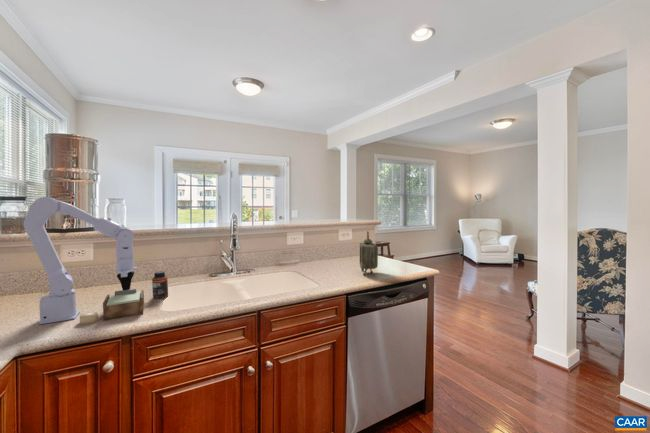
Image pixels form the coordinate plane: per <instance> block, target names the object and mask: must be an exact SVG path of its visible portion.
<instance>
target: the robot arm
mask: <svg viewBox="0 0 650 433" xmlns="http://www.w3.org/2000/svg"><path fill="white" fill-rule="evenodd" d="M57 212H58V213H57ZM56 213H57V215H64V216H66V215H68V216H71V217H74V218H75V219H78V220H80V221H83V222H85V223H87V224H89V225H91V226H93V230H94V231H96V232H98V233H101V234H103V235H104V236H107V237H109V238H110V239H112V238H115V239H116V247H115V250H116V252H115V253H116V269H115V270H116V272H117V274H116V277H117V279H118V280H119V282H120V286H121V288H122V290H129V289H131V284H132V279H133V277H134V275H135V271H134V270H138V266H135V257H134V256H135V254H134V252H135V251H134V244H133V243H134V241H133V240H134V238H135V235H134V232H133V231H132V230H131V229H130V228H128V227H125V225H124V224H119V223H117V222H115V221H113V220H112V218H111V217H104V216H103V217H96V216H95V215H92V214H90V213H89V212H87V211H85V210H83V209H81V208H78V207H77V206H75V205H73V204H70V203H67V202H65V201H61V200H57V199H56V198H54V197H51V196H42V197H39V198H36V199H35V200H34V201H33V202H32V203H30V205H29V206H28V211H27V213H26V216H25V218H24V220H23V228H24V230H25V232H26V234H27V236H28V238H29V240H30V241H31V244H32V246H33V248H34V250H35V252H36V255H37V257H38V259H39V260H40V263H41V265H42V266H43V268H44V271H45V272H46V276H47V277H46V278H47V280H48V282H49V285H48V290H49V293H48V295H43V296H41V298H40V300H39V304H38V305H39V306H38V307H39V324H40V325H45V324H49V323H51V324H52V323H56V322H61V321H62V322H63V321H68V320H69V321H70V320H75V319H76V318H77V317H78V315H79V313H80V310H77V300H76V299H77V297H76V289H74V288H73V287H74V280H75V279H74V277H73V276H72V274H70V273H68V272H67V270H66V268H65V266H64V265H63V263H62V261H61V259H60V257H59V255H58V253H57V250H56V249H55V246H54V244H53V242H52V239H51V238H50V235H49V234H48V232H47V229H46V227H45V224H46V223H47V222H48V221H49V219H50V218H51V217H52V216H53V215H55V214H56Z"/></svg>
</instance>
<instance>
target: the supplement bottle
mask: <svg viewBox="0 0 650 433" xmlns="http://www.w3.org/2000/svg"><path fill="white" fill-rule="evenodd" d="M153 275H154V276H153V278H152V279H151V287H152V298H153V299H155V300H160V299H165V298H167V297H168V296H169V285H168V284H169V283H168V276H167V275H166V273H165V271H163V270H158V271H155V272H154V274H153Z"/></svg>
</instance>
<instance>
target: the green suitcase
mask: <svg viewBox="0 0 650 433" xmlns="http://www.w3.org/2000/svg"><path fill="white" fill-rule="evenodd" d="M378 256H379V251H378V246H377V244H376V243H374V242H373V241H372V239H371V238H370V232H369V230H368V231H367V232H366V238H365V239H364V241H363V242H360V243H359V267H360V270H361V271H362V272H363V273H362V276H364V277H365V276H366V275H367V274H366V273H367V271H368V270H369V273H370V274H371V275H372V274H373V273H374V272H373V270H374V269H375V270H376V268H378V265H379V264H378V263H379V262H378V261H379V260H378Z"/></svg>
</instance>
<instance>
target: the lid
mask: <svg viewBox="0 0 650 433" xmlns="http://www.w3.org/2000/svg"><path fill="white" fill-rule="evenodd" d="M141 291H142V290H140V291H137V288H130V289H129V290H123V289H122V290H116V291H114V294H111V295H110V294H109V296H110V298H109V300H108V302H107V306H110V305H116V304H123V303H130V302H137V301H140V294H141Z"/></svg>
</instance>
